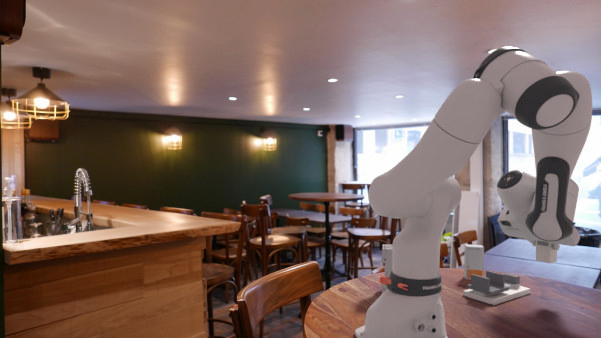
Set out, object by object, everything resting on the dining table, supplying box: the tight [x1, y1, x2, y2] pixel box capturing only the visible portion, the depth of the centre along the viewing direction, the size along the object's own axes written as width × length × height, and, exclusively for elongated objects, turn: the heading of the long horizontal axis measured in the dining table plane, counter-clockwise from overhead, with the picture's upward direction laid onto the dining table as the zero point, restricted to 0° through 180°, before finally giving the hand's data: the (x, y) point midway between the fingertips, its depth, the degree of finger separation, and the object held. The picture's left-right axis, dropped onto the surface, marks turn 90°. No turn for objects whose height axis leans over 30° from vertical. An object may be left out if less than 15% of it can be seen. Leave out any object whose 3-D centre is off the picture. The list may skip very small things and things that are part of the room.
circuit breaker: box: [381, 243, 393, 295], centre depth 120 cm, size 8×14×15 cm, turn 78°
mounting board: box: [462, 285, 531, 306], centre depth 121 cm, size 20×10×2 cm, turn 122°
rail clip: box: [466, 270, 521, 297], centre depth 121 cm, size 20×8×6 cm, turn 122°
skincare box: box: [463, 243, 485, 281], centre depth 137 cm, size 6×4×12 cm
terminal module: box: [535, 240, 558, 264], centre depth 116 cm, size 4×4×8 cm
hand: (546, 246), depth 116 cm, fingers closed on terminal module, 4 cm apart
